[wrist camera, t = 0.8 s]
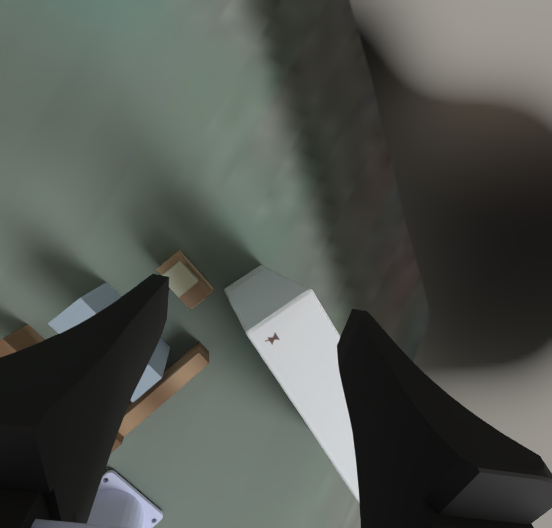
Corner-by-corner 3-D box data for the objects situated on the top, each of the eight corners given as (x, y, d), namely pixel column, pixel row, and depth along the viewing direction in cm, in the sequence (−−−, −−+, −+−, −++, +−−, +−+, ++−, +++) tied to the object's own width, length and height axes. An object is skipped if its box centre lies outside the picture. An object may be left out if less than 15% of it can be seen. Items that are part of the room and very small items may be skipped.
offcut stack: (193, 302, 34) (191, 314, 30) (159, 266, 33) (152, 272, 29) (212, 287, 34) (213, 296, 30) (179, 249, 33) (175, 253, 29)
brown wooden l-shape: (118, 429, 34) (107, 455, 30) (14, 335, 31) (-14, 351, 27) (208, 351, 35) (209, 367, 31) (115, 253, 32) (103, 257, 28)
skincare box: (357, 407, 39) (455, 525, 24) (319, 435, 39) (395, 574, 23) (265, 259, 35) (313, 286, 20) (221, 287, 34) (235, 339, 19)
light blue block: (147, 366, 34) (132, 402, 27) (81, 302, 32) (47, 323, 25) (170, 347, 34) (162, 377, 27) (106, 282, 32) (80, 297, 25)
